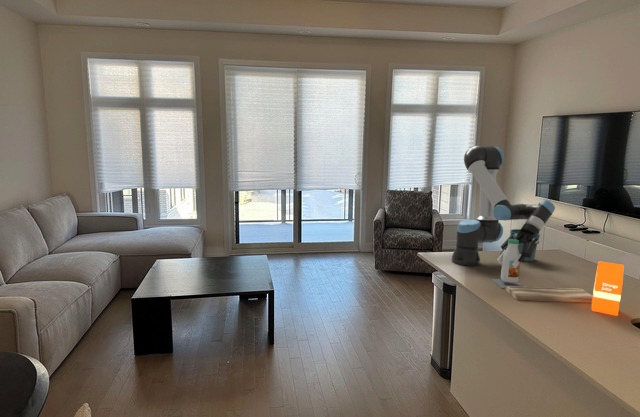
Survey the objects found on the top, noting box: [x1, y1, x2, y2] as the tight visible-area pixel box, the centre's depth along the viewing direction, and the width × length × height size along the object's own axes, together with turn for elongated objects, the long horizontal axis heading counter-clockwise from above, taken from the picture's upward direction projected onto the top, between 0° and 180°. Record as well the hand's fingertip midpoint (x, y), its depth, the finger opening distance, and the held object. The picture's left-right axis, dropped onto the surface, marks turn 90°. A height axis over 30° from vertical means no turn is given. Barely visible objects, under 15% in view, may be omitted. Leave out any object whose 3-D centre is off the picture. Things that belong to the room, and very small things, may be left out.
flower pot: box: [509, 228, 542, 262], centre depth 246 cm, size 16×16×16 cm
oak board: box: [504, 285, 593, 304], centre depth 186 cm, size 12×34×2 cm, turn 89°
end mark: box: [491, 278, 526, 290], centre depth 200 cm, size 12×12×1 cm
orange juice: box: [591, 260, 625, 316], centre depth 170 cm, size 8×9×20 cm
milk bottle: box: [500, 238, 521, 283], centre depth 198 cm, size 8×8×20 cm
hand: (506, 264), depth 197 cm, fingers closed on milk bottle, 7 cm apart
